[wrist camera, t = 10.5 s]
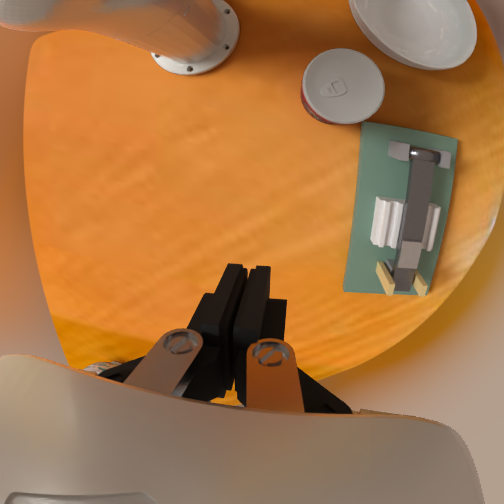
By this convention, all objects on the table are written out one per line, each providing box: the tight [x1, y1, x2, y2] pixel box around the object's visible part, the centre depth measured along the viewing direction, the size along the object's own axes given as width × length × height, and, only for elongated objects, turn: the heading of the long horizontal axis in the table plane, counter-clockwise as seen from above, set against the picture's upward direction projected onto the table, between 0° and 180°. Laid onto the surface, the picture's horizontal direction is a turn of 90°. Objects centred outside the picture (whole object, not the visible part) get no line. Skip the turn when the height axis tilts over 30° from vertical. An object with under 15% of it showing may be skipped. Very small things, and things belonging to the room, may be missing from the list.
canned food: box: [301, 48, 385, 125], centre depth 28 cm, size 8×8×11 cm
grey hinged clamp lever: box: [391, 146, 440, 292], centre depth 33 cm, size 19×4×2 cm, turn 179°
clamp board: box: [343, 121, 458, 297], centre depth 34 cm, size 24×14×8 cm, turn 179°
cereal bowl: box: [349, 0, 477, 70], centre depth 23 cm, size 17×17×7 cm
